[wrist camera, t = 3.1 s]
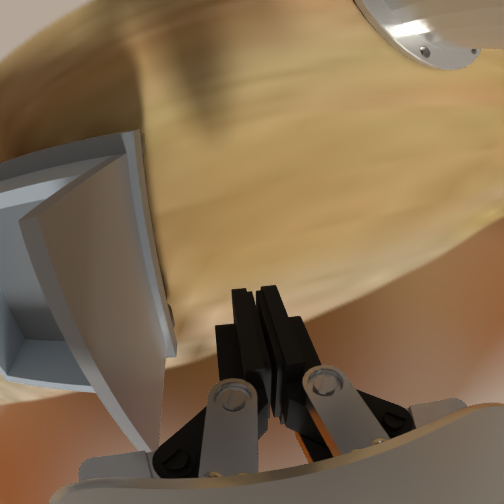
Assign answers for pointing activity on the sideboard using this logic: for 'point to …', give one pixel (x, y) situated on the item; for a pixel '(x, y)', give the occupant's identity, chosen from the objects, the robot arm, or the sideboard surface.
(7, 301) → the grey open box
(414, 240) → the sideboard surface
